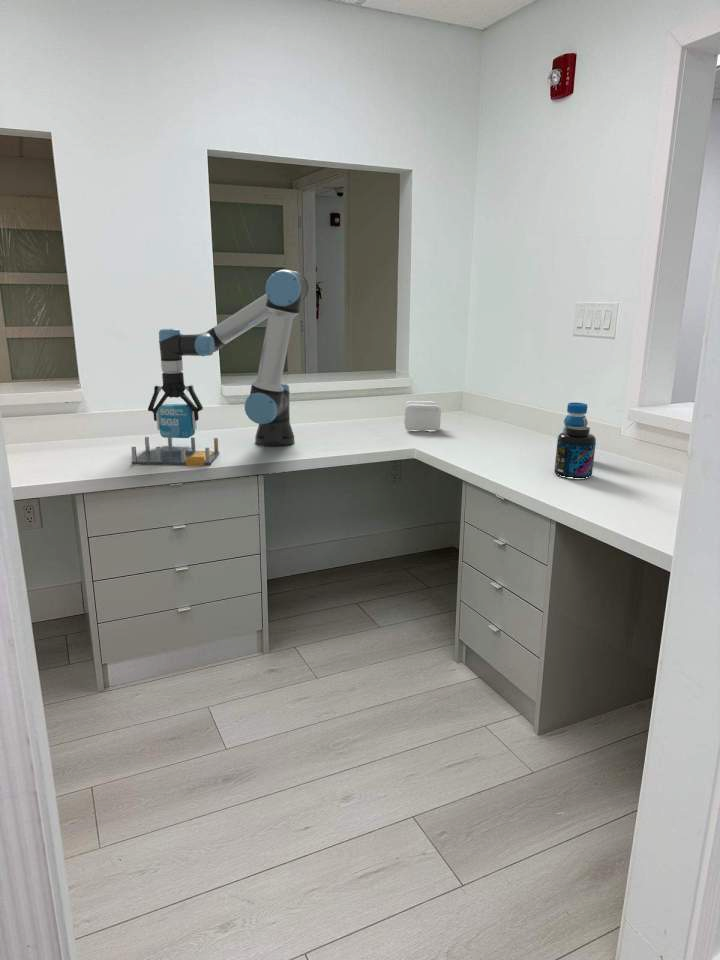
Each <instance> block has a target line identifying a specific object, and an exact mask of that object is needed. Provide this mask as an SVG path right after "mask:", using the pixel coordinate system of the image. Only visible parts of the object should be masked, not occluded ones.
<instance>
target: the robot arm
mask: <svg viewBox="0 0 720 960" xmlns="http://www.w3.org/2000/svg"><path fill="white" fill-rule="evenodd" d="M308 293H309V283H308V280H307V279H306V277H305V276H304V274H302V273H300V272H299V271H296V270H290V269H280V270H278V271H275V272H274V273H272V274H271V275H270V276H269V278H268V279H267V281H266V284H265V294H264V295H261V296H260V297H258V298H257V299H255V300H254V301H253V302H251V303H249V304H248V305H246V306H244V307H243V308H241V309H239V310H238V311H237V312H235V313H233V314H232V315H230V316H229V317H227V318H226V319H224V320H223V321H221V322H219V323H218V324H216V325H214V326H213V327H212V328H210V329H209V330H207V331H206V332H202V333H196V334H182V333H181V330H180V329H179V328H162V329H159V331H158V343H159V353H160V364H161V365H160V367H161V372H162V373H161V376H162V377H161V378H162V385H159V384H156V385H155V386H154V390H153V394H152V397H151V399H150V402H149V405H148V408H147V411H148V412H152V414H153V421H154V422H156V428H157V431H160V426H159V415H158V408H159V407H160V406H162V405H164V403H165V401H166V400H167V399H168V398H177V399H178V398H180V399H181V400H183V401H184V402H185V403H186V404H188V406H189V407H190V408H191V409H192V410H193V412H192V422H193V430H195V431H196V430H197V422H198V421H199V412H200V411H202V410H203V409H204V407H203V405H202V403H201V401H200V399H199V398H198V396H197V394H196V392H195V390H194V385H193V384H190V385H185V380H184V379H185V378H184V373H183V370H184V367H183V366H184V365H183V357H184V356H187V357H188V356H191V357H195V356H196V357H197V356H198V357H208V356H209V357H210V356H212V355H214V353H215V352H218V351H219V350H220V349H222V347H224V346H225V345H226V344H228V343H230V342H231V341H233V340H234V339H236V338H237V337H239V336H241V335H243V333H245V332H247V331H249V330H251V329H252V328H253V327H254V328H255V326H257V325H258V324H261V323H262V322H263V321H265V320H266V319H267V323H266V327H265V334H264V338H263V344H262V350H261V354H260V355H261V356H260V361H259V366H258V371H257V372H258V373H257V377H256V380H254V381H252V382H251V387H250V391H249V395H248V396H247V398H246V399H245V402H244V411H245V415H246V416H247V417H248V419H249V420H250V421H252V422H253V423H255V424H257V425H258V427H257V430H256V433H255V437H254V438H255V439H254V441H255V444H257V445H259V446H264V447H283V446H282V445H284V446H289V445H288V444H290V445H292V444H294V443H295V434H294V431H293V429H292V426H291V423H290V416H291V415H290V386H289V384H287V383H282V378H283V373H284V370H285V369H284V368H285V364H286V358H287V352H288V347H289V342H290V336H291V332H292V326H293V322H294V318H296V316H298V315H299V314H300V313H299V312H300V309H301V303H302V302H303V301H304V300H305V299H307V296H308ZM185 390H186V391H187V392H188V393H189V395H190V396H191V399H192V400H193V401H191V399H190V398H189V396H188V395H187V394H186V393H185ZM161 391H163V392H164V394H163V395H162V397H161V398H160V400H159V401H158V403H157V404H156V402H157V398H158V397H159V393H160V392H161ZM193 402H194V403H193ZM155 404H156V405H155Z"/></svg>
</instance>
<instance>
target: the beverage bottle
mask: <svg viewBox="0 0 720 960" xmlns="http://www.w3.org/2000/svg"><path fill="white" fill-rule="evenodd" d="M566 412H567V415H566V416H565V418H564V420H563V424H564V425H563V427H562V432H566V426H569V425H579V426H586V427H588V423H589V422H588V419H587V417H586V414H587V412H588V404H587V403H585V402H584V403H583V402H575V401H574V402H568V404H567V407H566Z"/></svg>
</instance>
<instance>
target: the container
mask: <svg viewBox="0 0 720 960" xmlns="http://www.w3.org/2000/svg"><path fill="white" fill-rule="evenodd" d="M590 431H591V427H588V426H579V425H569V426H566V432H563V431H561V433H559V434H558V436H557V442H556V452H555V453H556V454H555V461H554V473H555V474H556V475H557V474H559V475H561V476H565V477H573V478H586V477H589V476H591V475H593V469H594V461H595V453H596V452H595V451H596V444H597V443H596V442H597V439H596V437H595V435H593V434H592V433H590ZM591 477H592V476H591ZM589 478H590V477H589Z"/></svg>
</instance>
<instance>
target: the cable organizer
mask: <svg viewBox="0 0 720 960" xmlns="http://www.w3.org/2000/svg"><path fill="white" fill-rule="evenodd" d="M441 415H442V409H441V407H440V406H439V405H438V403H437V402H436V401H430V400H428V401H427V400H426V401H423V400H408V401H406V402H405V403H404V418H403V423H404V429H405V430H407V431H409V430H438V431H439V430H440V428H441Z"/></svg>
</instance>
